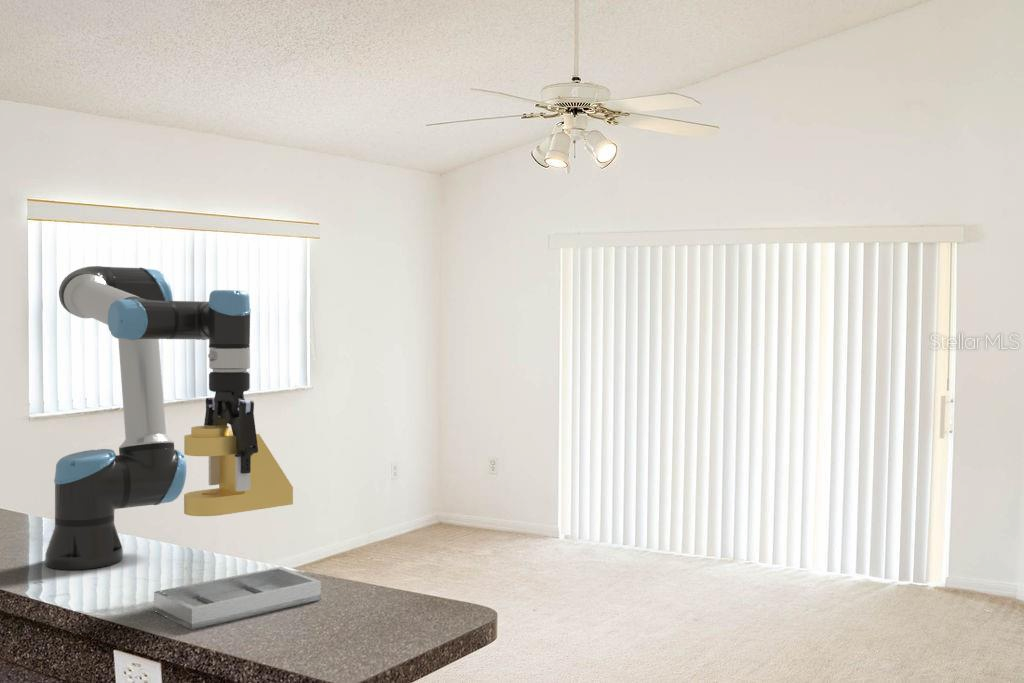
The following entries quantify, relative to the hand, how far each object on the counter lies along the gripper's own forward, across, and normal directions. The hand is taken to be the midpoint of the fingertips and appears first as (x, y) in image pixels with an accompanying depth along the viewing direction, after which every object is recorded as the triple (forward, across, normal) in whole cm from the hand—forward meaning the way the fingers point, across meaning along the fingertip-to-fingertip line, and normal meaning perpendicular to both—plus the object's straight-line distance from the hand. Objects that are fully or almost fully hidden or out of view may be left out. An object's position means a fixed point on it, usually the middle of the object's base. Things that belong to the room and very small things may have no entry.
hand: (229, 487), depth 184 cm
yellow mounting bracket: (+4, 0, +1) cm, 5 cm away
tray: (+20, +9, -3) cm, 22 cm away
